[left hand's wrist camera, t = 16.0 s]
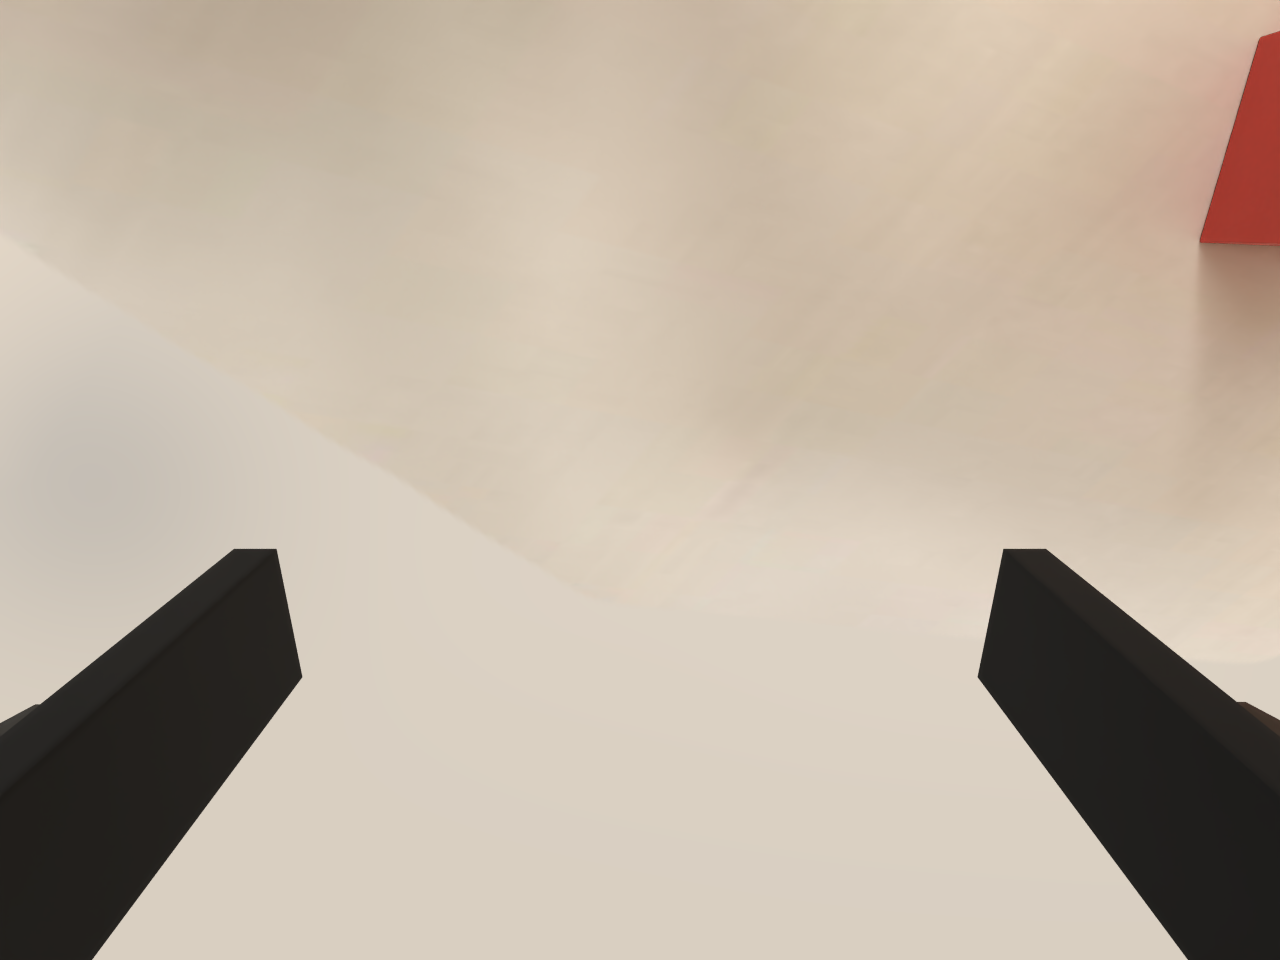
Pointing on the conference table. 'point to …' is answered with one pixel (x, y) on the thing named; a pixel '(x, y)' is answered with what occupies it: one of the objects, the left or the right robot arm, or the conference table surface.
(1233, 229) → the brick
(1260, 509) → the conference table surface
